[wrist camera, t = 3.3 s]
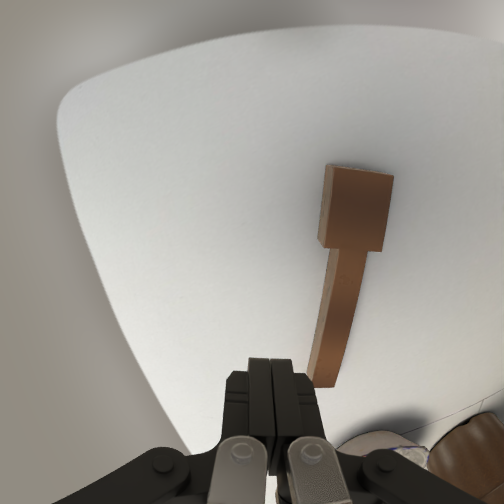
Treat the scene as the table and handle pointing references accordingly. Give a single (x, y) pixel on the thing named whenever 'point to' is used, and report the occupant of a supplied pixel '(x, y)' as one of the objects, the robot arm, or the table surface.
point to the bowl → (386, 446)
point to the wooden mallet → (345, 258)
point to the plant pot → (473, 458)
